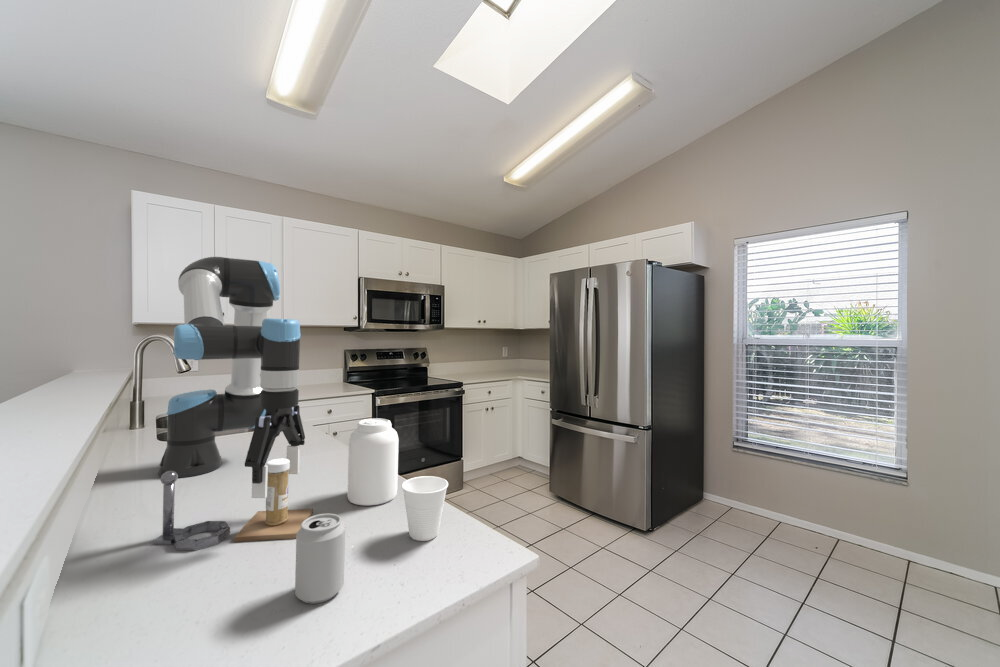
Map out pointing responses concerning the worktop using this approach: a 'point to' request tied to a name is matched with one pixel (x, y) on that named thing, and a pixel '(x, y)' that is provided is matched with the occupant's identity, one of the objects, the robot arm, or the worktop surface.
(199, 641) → the worktop surface
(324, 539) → the can
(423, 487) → the cup
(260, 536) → the coaster
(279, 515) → the sprinkles bottle
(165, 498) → the ring stand
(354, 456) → the white jar
